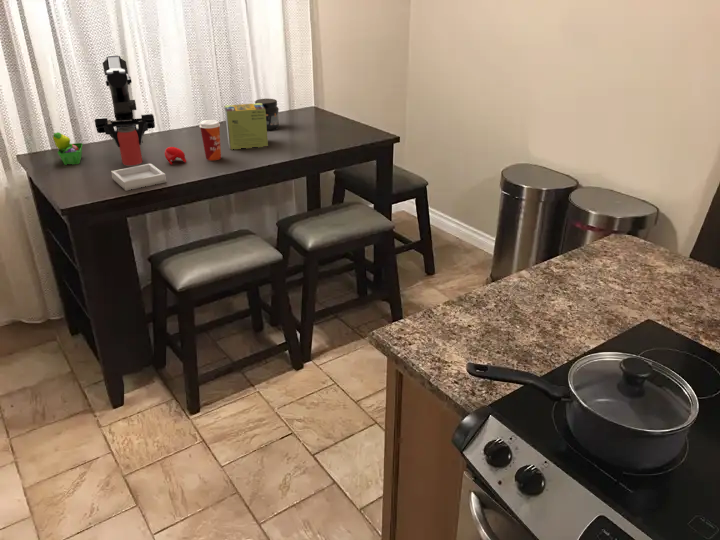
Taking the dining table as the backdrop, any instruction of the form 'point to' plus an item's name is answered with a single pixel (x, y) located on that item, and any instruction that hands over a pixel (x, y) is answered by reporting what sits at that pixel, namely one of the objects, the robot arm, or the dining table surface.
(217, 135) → the paper cup
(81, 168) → the dining table surface
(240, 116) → the protein box
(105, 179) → the dining table surface
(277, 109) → the supplement container
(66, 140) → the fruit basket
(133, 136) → the beer can
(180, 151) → the cap
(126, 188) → the tray
